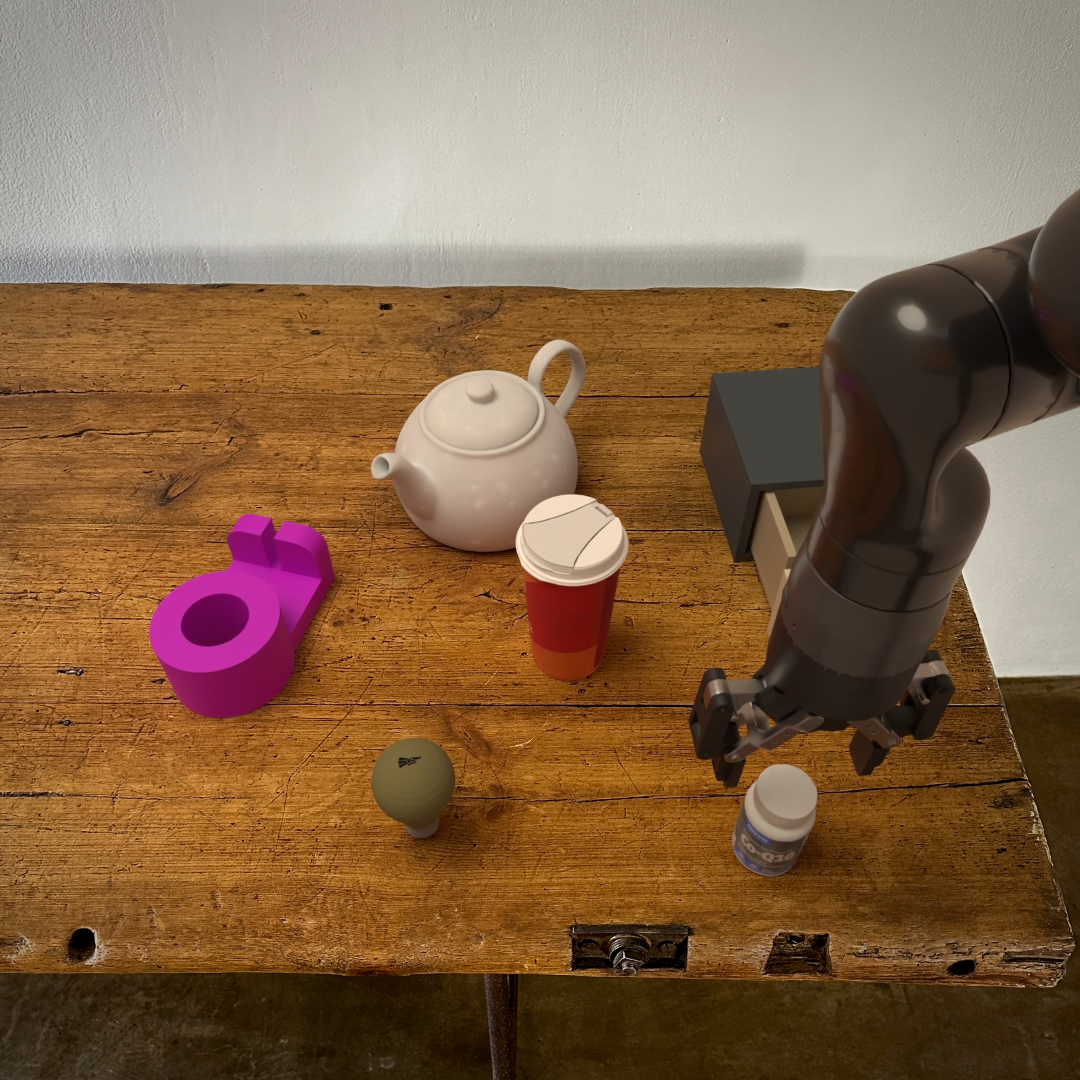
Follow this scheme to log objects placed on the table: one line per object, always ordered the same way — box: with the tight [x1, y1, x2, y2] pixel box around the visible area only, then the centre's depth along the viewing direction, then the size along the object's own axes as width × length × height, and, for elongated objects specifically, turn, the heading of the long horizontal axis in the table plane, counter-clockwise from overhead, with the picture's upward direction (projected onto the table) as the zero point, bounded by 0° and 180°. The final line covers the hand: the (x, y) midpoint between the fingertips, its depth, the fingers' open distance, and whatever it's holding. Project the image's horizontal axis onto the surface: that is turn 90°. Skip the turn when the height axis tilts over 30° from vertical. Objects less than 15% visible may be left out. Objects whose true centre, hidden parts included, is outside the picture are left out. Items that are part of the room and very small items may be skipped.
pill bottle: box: [731, 763, 818, 877], centre depth 66 cm, size 5×5×8 cm
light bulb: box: [370, 737, 456, 839], centre depth 67 cm, size 6×6×10 cm
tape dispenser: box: [148, 513, 336, 719], centre depth 80 cm, size 16×10×6 cm, turn 164°
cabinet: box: [699, 366, 824, 562], centre depth 89 cm, size 15×13×10 cm
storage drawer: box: [748, 487, 822, 639], centre depth 81 cm, size 18×12×8 cm, turn 6°
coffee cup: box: [515, 494, 630, 682], centre depth 75 cm, size 8×8×15 cm
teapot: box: [370, 339, 587, 553], centre depth 88 cm, size 19×18×14 cm
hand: (793, 768), depth 61 cm, fingers open, 8 cm apart
